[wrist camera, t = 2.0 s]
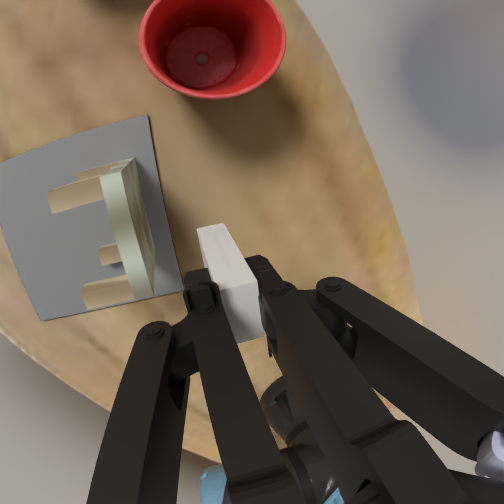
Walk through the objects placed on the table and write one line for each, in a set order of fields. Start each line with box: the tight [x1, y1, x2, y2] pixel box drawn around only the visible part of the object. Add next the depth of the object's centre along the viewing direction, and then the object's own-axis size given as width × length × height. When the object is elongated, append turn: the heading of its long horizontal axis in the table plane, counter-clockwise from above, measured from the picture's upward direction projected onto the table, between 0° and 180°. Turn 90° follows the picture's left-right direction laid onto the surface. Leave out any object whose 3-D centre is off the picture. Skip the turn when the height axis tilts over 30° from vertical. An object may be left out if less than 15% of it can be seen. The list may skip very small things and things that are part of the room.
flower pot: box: [139, 0, 286, 100], centre depth 22 cm, size 11×11×10 cm
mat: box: [0, 115, 184, 321], centre depth 29 cm, size 20×20×1 cm
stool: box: [46, 157, 155, 310], centre depth 25 cm, size 10×6×10 cm, turn 7°
